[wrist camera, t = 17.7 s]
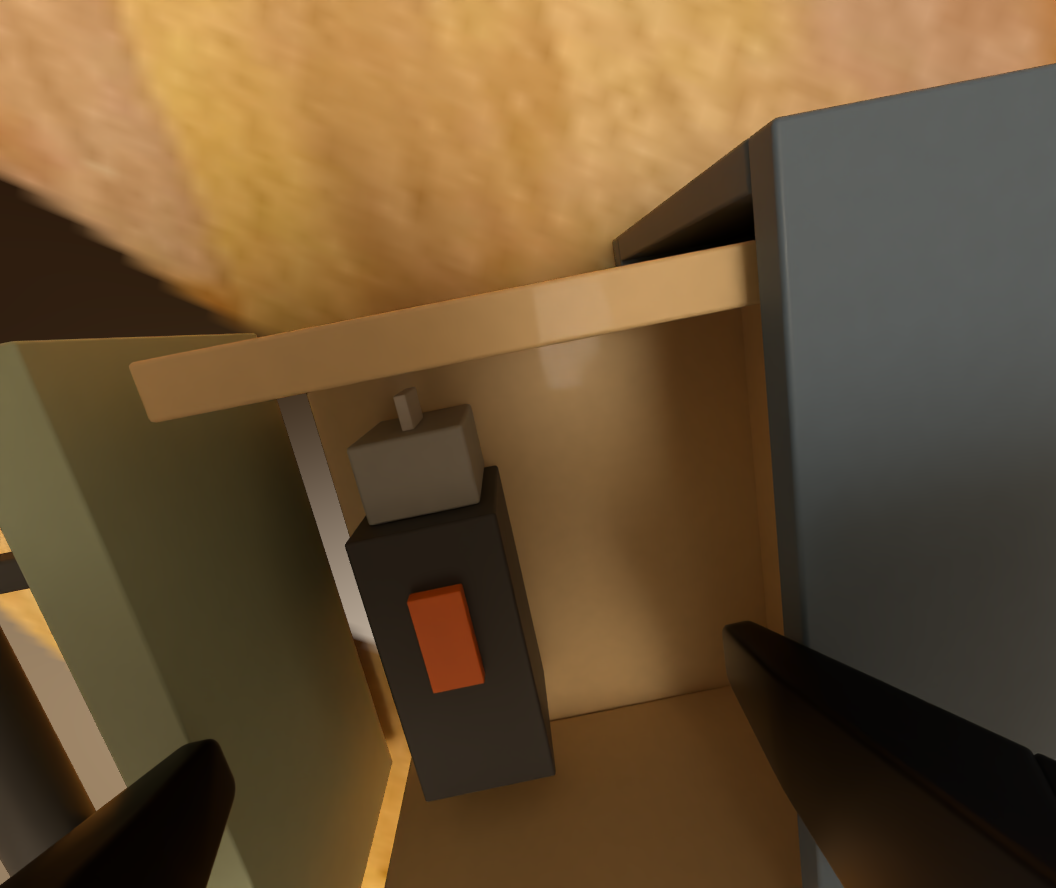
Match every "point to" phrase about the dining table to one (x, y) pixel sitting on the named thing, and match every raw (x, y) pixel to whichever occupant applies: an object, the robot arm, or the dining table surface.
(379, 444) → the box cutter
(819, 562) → the cabinet
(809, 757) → the robot arm
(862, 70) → the dining table surface
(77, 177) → the dining table surface
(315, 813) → the drawer
